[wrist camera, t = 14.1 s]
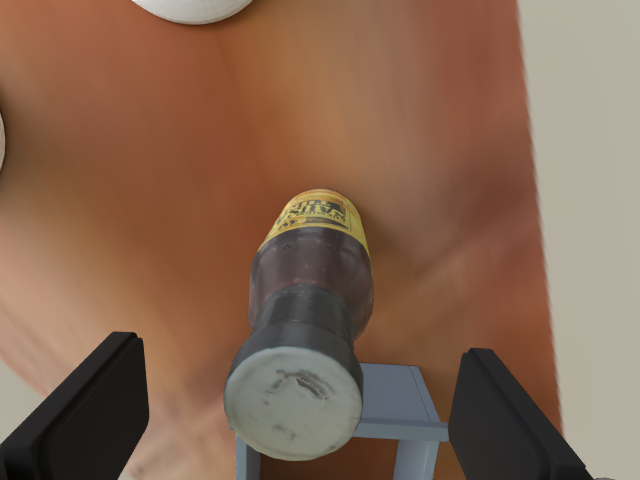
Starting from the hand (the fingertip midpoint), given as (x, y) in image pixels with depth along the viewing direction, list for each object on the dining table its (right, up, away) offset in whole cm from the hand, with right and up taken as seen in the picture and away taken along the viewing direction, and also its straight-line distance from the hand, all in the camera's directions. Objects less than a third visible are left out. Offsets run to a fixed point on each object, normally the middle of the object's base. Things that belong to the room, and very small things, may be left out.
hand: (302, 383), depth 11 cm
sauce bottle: (0, +5, +19) cm, 19 cm away
